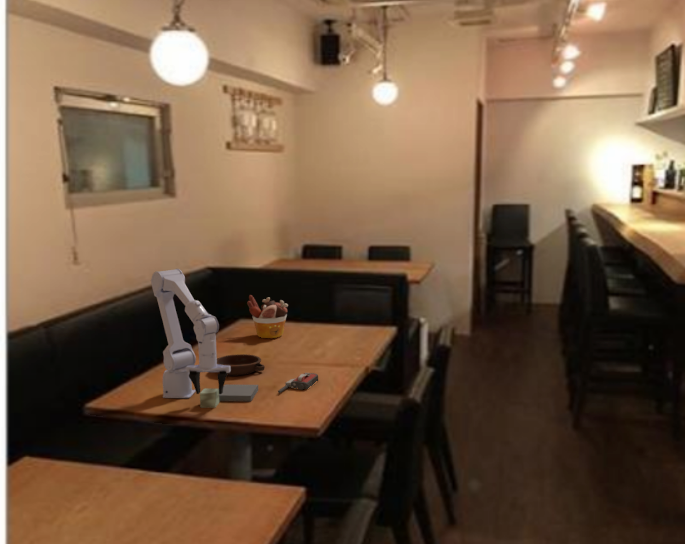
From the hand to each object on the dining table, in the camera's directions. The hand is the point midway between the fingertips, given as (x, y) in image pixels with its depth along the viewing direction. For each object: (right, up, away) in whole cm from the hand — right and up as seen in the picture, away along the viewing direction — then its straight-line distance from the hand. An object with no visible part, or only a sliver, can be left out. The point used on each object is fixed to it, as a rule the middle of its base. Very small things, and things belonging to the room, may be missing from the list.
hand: (209, 393), depth 222 cm
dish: (+3, +1, +39) cm, 39 cm away
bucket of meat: (+9, +9, +96) cm, 97 cm away
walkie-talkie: (+29, -2, +18) cm, 34 cm away
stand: (+8, -3, +10) cm, 13 cm away
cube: (0, -4, +1) cm, 4 cm away
